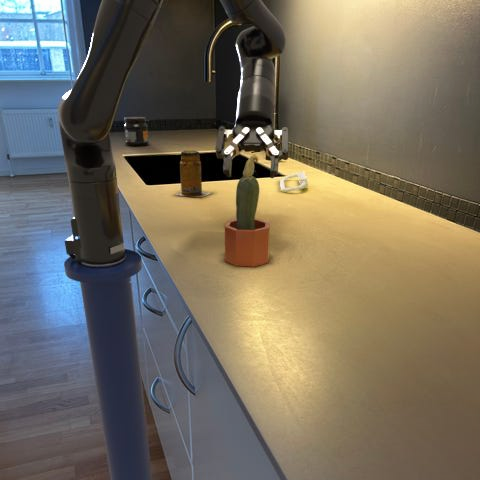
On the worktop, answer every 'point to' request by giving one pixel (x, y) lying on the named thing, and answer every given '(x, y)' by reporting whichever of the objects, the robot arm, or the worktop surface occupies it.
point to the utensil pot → (247, 244)
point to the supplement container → (136, 131)
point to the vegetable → (247, 197)
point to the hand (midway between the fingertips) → (250, 175)
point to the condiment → (191, 175)
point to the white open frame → (302, 185)
